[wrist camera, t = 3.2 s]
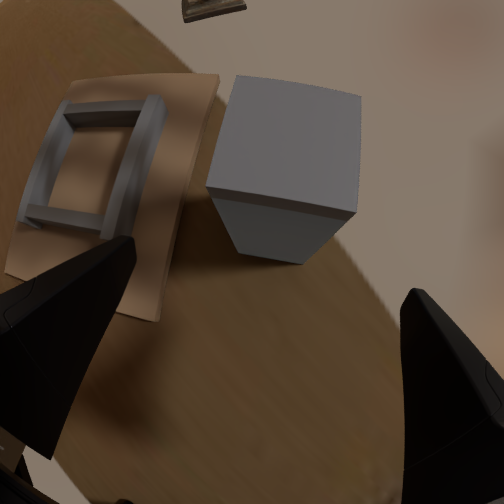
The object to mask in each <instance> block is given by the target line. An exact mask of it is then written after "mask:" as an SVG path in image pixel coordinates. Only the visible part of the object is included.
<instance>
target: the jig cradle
mask: <svg viewBox="0 0 504 504" xmlns="http://www.w3.org/2000/svg"><path fill="white" fill-rule="evenodd" d="M219 84H220V79H219V75H218V74H197V73H158V74H135V75H121V76H110V77H100V78H92V79H85V80H78V81H72V83H71V85H70V87H69V89H68V90H67V92H66V94H65V96H64V98H63V100H62V102H61V103H60V105H59V107H58V109H57V111H56V113H55V115H54V118H53V120H52V122H51V124H50V126H49V128H48V130H47V133H46V135H45V137H44V139H43V142H42V144H41V147H40V149H39V151H38V154H37V156H36V159H35V162H34V164H33V167H32V170H31V172H30V175H29V178H28V181H27V184H26V187H25V190H24V193H23V196H22V200H21V203H20V206H19V210H18V213H17V217H16V221H15V225H14V229H13V233H12V237H11V241H10V246H9V250H8V255H7V261H6V266H5V273H7V274H10V275H12V276H15V277H17V278H20V279H22V280H25V281H28V280H30V279H32V278H34V277H36V276H37V275H39V274H41V273H43V272H45V271H47V270H49V269H51V268H53V267H55V266H57V265H59V264H61V263H63V262H65V261H67V260H69V259H71V258H73V257H75V256H77V255H79V254H81V253H83V252H85V251H87V250H90V249H92V248H94V247H96V246H98V245H100V244H102V243H104V242H107V241H109V240H111V239H113V238H115V237H118V236H120V235H128V236H132V237H133V238H134V240H135V246H136V253H137V262H136V265H135V268H134V270H133V272H132V275H131V277H130V280H129V282H128V284H127V287H126V289H125V292H124V294H123V297H122V299H121V301H120V303H119V305H118V307H117V309H116V311H117V312H120V313H124V314H127V315H131V316H134V317H138V318H141V319H145V320H149V321H153V322H157V321H159V320H160V315H161V309H162V303H163V298H164V293H165V288H166V282H167V277H168V273H169V268H170V263H171V258H172V254H173V249H174V244H175V240H176V236H177V231H178V227H179V223H180V219H181V214H182V210H183V206H184V202H185V198H186V194H187V191H188V187H189V183H190V179H191V175H192V172H193V168H194V164H195V161H196V157H197V154H198V150H199V147H200V143H201V140H202V137H203V133H204V130H205V127H206V124H207V120H208V117H209V114H210V111H211V108H212V105H213V102H214V98H215V95H216V92H217V89H218V86H219Z"/></svg>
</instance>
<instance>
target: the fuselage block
mask: <svg viewBox="0 0 504 504" xmlns="http://www.w3.org/2000/svg"><path fill="white" fill-rule="evenodd" d="M360 150H361V96H358V95H354V94H350V93H346V92H342V91H337V90H333V89H328V88H323V87H318V86H313V85H307V84H301V83H296V82H289V81H283V80H275V79H268V78H259V77H249V76H239V75H237V76H236V79H235V82H234V85H233V89H232V92H231V95H230V99H229V102H228V105H227V108H226V112H225V115H224V119H223V122H222V126H221V129H220V133H219V137H218V140H217V144H216V148H215V151H214V155H213V159H212V163H211V167H210V170H209V174H208V178H207V182H206V188H207V190H208V192H209V194H210V196H211V198H212V201H213V203H214V205H215V207H216V209H217V211H218V213H219V215H220V217H221V219H222V221H223V223H224V225H225V227H226V229H227V231H228V233H229V235H230V237H231V239H232V241H233V243H234V245H235V247H236V249H237V251H238V253H241V254H247V255H252V256H258V257H264V258H269V259H275V260H281V261H286V262H292V263H298V264H304V263H305V262H306V261H307V260H308V259H309V258H310V257H311V256H312V255H313V254H314V253H315V252H317V251H318V250H319V249H320V248H321V247H322V246H323V245H324V244H325V243H326V242H327V241H328V240H329V239H330V238H331V237H332V236H333V235H334V234H335V233H336V232H337V231H338V230H339V229H340V228H341V227H342V226H343V225H344V224H345V223H346V222H347V221H348V220H349V219H350V218H351V217H353V216H354V214H356V213H357V202H358V188H359V172H360Z"/></svg>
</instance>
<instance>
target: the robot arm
mask: <svg viewBox="0 0 504 504" xmlns="http://www.w3.org/2000/svg"><path fill="white" fill-rule="evenodd" d="M136 262H137V253H136V246H135V240H134V238H133V237H132V236H128V235H120V236H118V237H115V238H113V239H111V240H109V241H107V242H104V243H102V244H100V245H98V246H96V247H94V248H92V249H90V250H87V251H85V252H83V253H81V254H79V255H77V256H75V257H73V258H71V259H69V260H67V261H65V262H63V263H61V264H59V265H57V266H55V267H53V268H51V269H49V270H47V271H45V272H43V273H41V274H39V275H37V276H36V277H34V278H32V279H30V280H28V281H26V282H24V283H22V284H20V285H18V286H16V287H15V288H12V289H10V290H8V291H6V292H4V293H2V294H0V504H59V503H58V502H56V501H54V500H53V499H51V498H49V497H48V496H46V495H45V494H43V493H41V492H40V491H38V490H37V489H35V488H34V487H33V483H32V481H31V478H30V475H29V472H28V469H27V466H26V463H25V459H24V456H23V454H22V453H23V451H24V448H25V446H26V445H27V446H28V447H30V448H31V449H33V450H34V451H36V452H37V453H39V454H41V455H42V456H44V457H45V458H47V459H49V460H51V458H52V456H53V453H54V451H55V448H56V445H57V442H58V439H59V437H60V434H61V431H62V429H63V426H64V424H65V421H66V418H67V416H68V413H69V411H70V408H71V406H72V403H73V401H74V398H75V396H76V394H77V391H78V389H79V387H80V384H81V382H82V380H83V377H84V375H85V373H86V371H87V369H88V366H89V364H90V362H91V360H92V358H93V356H94V353H95V351H96V349H97V347H98V345H99V343H100V341H101V339H102V337H103V335H104V333H105V331H106V329H107V327H108V325H109V323H110V321H111V319H112V317H113V315H114V313H115V311H116V309H117V307H118V305H119V303H120V301H121V299H122V297H123V294H124V292H125V289H126V287H127V284H128V282H129V280H130V277H131V275H132V272H133V270H134V268H135V265H136ZM400 349H401V364H402V376H403V392H404V418H405V451H404V474H403V489H402V501H401V504H504V380H503V379H502V378H501V376H500V375H499V374H498V373H497V372H496V370H495V369H494V368H493V367H492V366H491V364H490V363H489V362H488V361H487V360H486V358H485V357H484V356H483V355H482V353H480V351H479V350H478V349H477V348H476V346H475V345H474V344H473V343H472V342H471V341H470V339H469V338H468V337H467V336H466V335H465V334H464V333H463V332H462V330H461V329H460V328H459V327H458V326H457V325H456V324H455V322H453V320H452V319H451V318H450V317H449V316H448V315H447V314H446V313H445V312H444V311H443V310H442V309H441V307H440V306H439V305H438V304H437V303H436V302H435V301H434V300H433V299H432V298H431V297H430V296H429V295H428V294H427V293H426V292H425V291H424V290H423V289H418V288H412V289H411V290H410V291H409V293H408V295H407V297H406V298H405V300H404V302H403V304H402V306H401V309H400ZM123 504H133V503H131V502H129V501H125V502H124V503H123Z"/></svg>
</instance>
